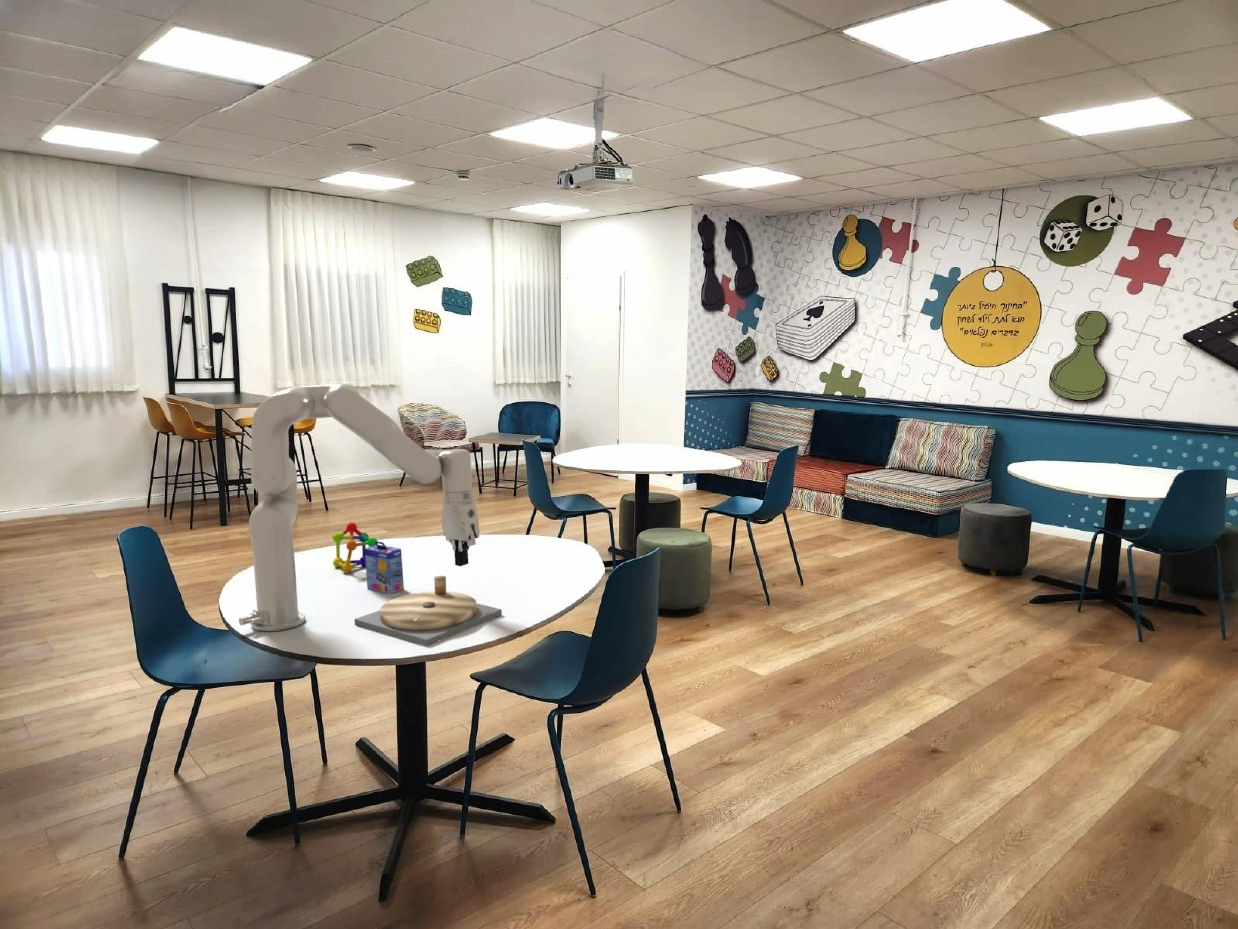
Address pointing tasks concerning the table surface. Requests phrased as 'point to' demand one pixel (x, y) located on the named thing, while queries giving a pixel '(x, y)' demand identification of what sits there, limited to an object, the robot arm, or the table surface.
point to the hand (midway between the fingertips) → (461, 564)
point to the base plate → (430, 635)
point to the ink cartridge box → (384, 568)
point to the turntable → (429, 609)
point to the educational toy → (351, 547)
